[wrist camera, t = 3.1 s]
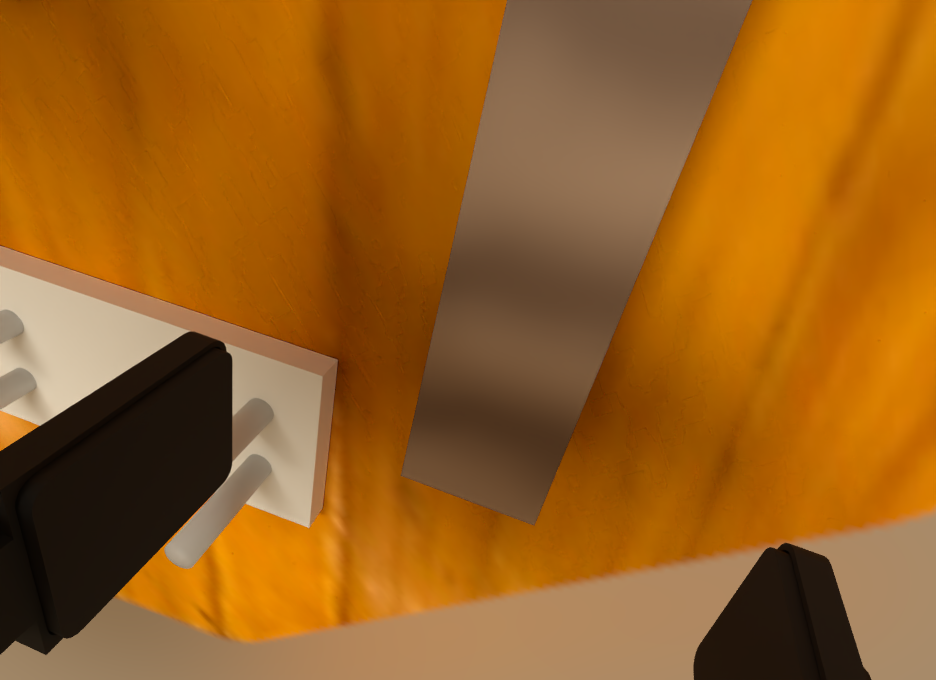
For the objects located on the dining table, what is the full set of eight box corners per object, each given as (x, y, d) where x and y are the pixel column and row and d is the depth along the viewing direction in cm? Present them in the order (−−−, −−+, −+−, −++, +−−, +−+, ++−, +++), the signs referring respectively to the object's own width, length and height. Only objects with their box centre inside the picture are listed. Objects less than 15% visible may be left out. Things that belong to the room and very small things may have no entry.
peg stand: (15, 392, 35) (-126, 475, 29) (-24, 237, 30) (-205, 297, 24) (322, 507, 33) (242, 626, 26) (338, 359, 27) (243, 463, 21)
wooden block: (572, -128, 17) (546, -174, 13) (762, -83, 16) (800, -116, 12) (439, 404, 28) (401, 475, 23) (552, 444, 27) (534, 525, 23)
